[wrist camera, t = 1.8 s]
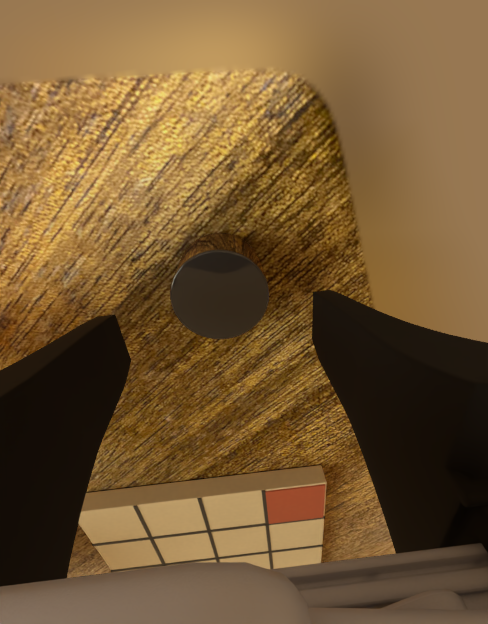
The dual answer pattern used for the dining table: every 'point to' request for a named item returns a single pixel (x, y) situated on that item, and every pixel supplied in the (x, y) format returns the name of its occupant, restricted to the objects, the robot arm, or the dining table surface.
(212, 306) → the dark grey cylinder
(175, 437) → the dining table surface
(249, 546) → the board
